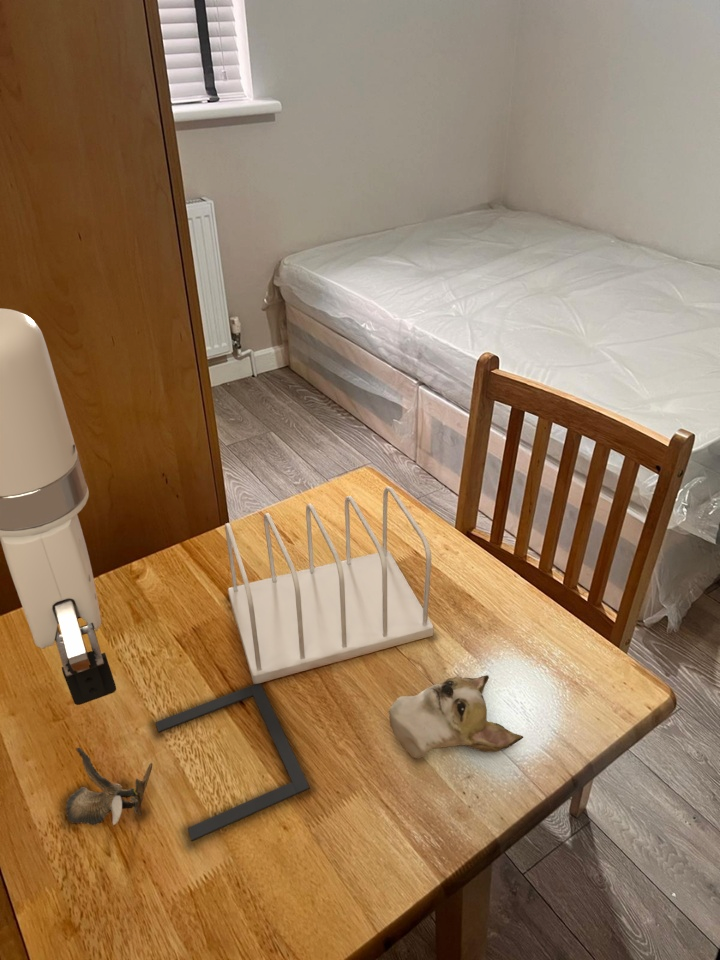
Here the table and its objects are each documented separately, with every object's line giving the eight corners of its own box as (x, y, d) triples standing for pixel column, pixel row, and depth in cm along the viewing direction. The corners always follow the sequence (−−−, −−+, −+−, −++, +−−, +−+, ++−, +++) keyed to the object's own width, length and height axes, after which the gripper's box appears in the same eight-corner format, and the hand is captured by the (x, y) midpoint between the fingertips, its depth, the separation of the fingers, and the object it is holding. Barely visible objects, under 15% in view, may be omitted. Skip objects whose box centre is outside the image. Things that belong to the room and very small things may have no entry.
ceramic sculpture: (375, 665, 84) (492, 639, 88) (371, 713, 89) (482, 687, 93) (407, 741, 76) (534, 709, 80) (401, 789, 81) (521, 757, 85)
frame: (191, 841, 77) (191, 840, 77) (155, 723, 89) (155, 722, 89) (309, 788, 82) (309, 787, 81) (260, 683, 94) (260, 681, 94)
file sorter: (253, 686, 93) (239, 596, 84) (228, 598, 107) (214, 512, 98) (434, 636, 99) (438, 547, 91) (388, 559, 113) (388, 475, 104)
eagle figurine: (161, 762, 83) (85, 744, 84) (147, 763, 77) (64, 743, 77) (139, 835, 81) (61, 816, 81) (123, 842, 74) (37, 821, 74)
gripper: (-34, 443, 56) (28, 603, 66) (-24, 578, 44) (52, 752, 53) (67, 420, 59) (112, 577, 69) (104, 541, 46) (154, 714, 56)
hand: (86, 653), depth 61 cm, fingers open, 9 cm apart
